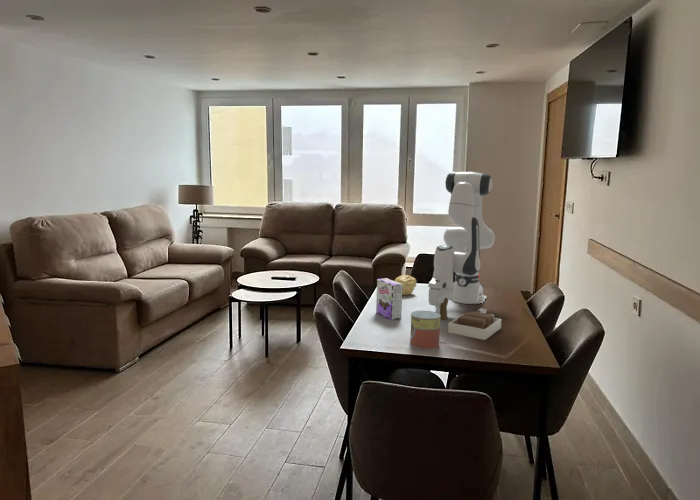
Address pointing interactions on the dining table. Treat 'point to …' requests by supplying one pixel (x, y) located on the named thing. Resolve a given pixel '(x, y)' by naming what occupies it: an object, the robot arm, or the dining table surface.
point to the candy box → (389, 298)
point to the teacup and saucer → (483, 311)
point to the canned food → (425, 330)
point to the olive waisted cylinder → (443, 310)
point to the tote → (474, 329)
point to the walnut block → (476, 319)
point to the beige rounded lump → (406, 284)
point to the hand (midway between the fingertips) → (441, 311)
